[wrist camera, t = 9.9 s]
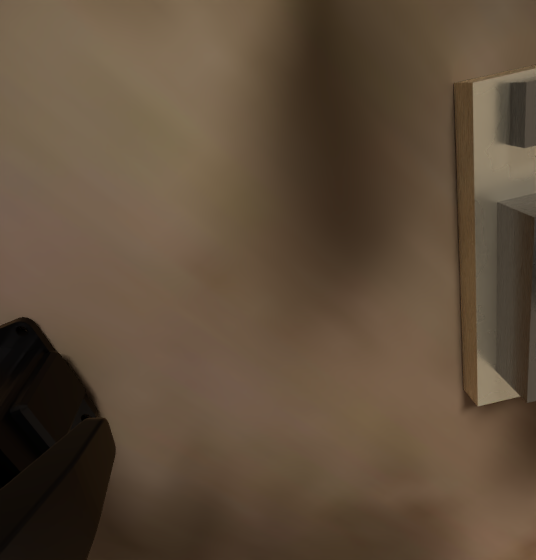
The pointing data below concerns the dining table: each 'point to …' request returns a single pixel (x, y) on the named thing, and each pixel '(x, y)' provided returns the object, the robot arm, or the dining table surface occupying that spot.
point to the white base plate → (497, 233)
